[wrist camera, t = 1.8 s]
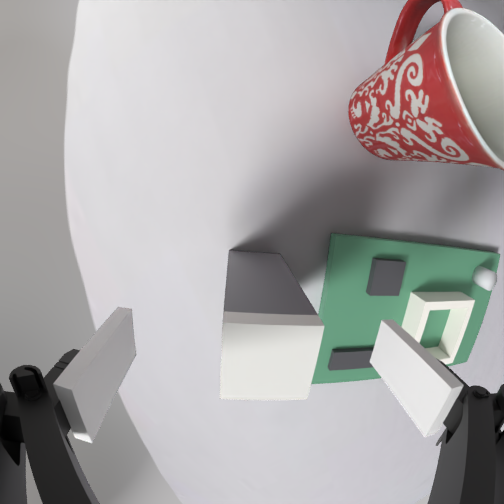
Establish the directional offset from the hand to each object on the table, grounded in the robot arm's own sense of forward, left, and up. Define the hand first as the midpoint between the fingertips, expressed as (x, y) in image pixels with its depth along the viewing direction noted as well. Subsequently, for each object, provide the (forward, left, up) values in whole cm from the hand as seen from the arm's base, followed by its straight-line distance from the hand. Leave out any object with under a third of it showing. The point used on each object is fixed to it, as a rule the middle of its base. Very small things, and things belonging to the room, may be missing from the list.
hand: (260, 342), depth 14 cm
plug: (0, 0, -10) cm, 10 cm away
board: (+3, +17, -9) cm, 20 cm away
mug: (-16, +10, -10) cm, 22 cm away
